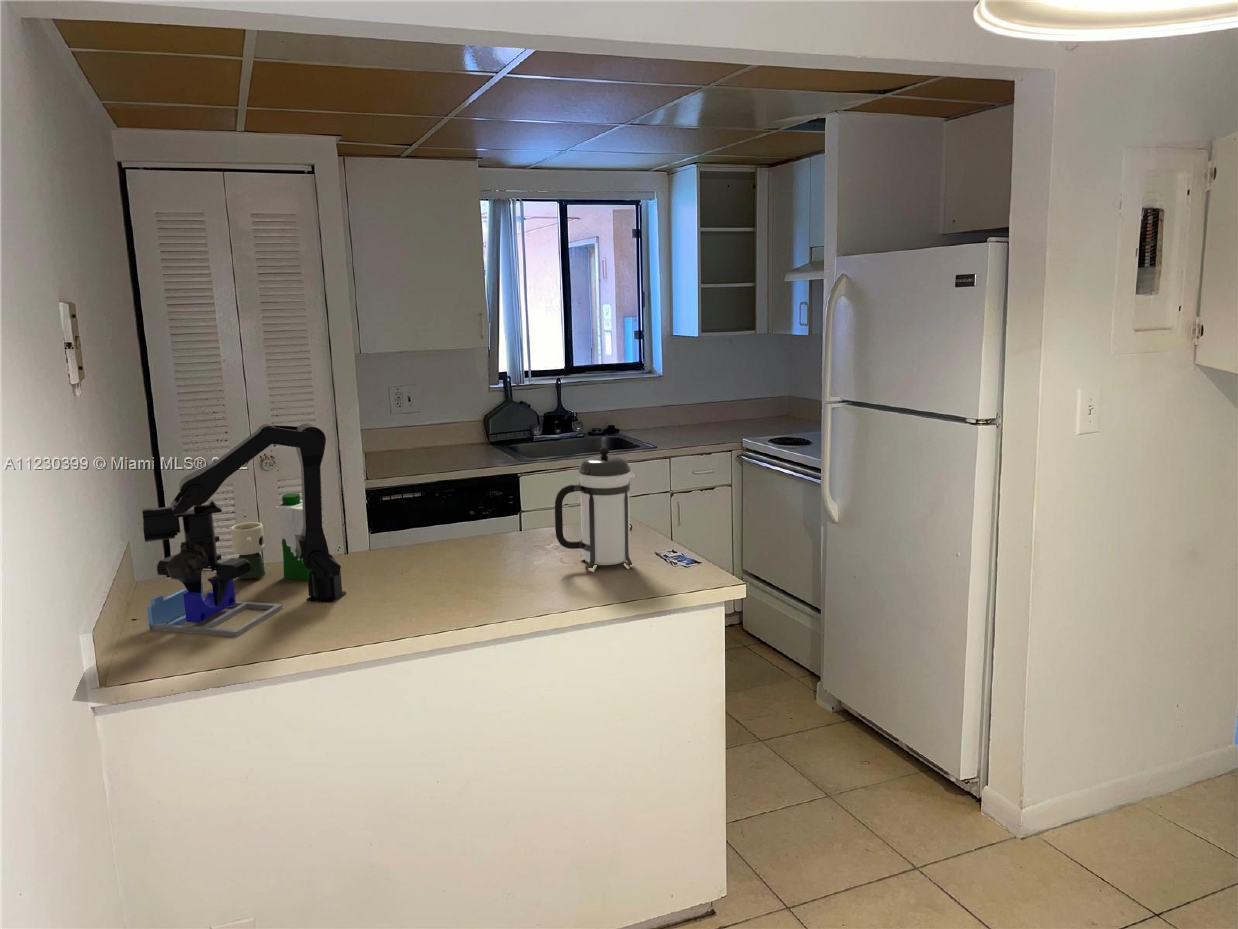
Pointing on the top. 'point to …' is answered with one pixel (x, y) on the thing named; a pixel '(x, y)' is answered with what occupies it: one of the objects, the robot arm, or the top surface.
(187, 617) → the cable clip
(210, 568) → the robot arm
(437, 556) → the top surface
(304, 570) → the milk carton
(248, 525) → the character mug
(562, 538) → the coffee press
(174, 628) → the blue grey rack
